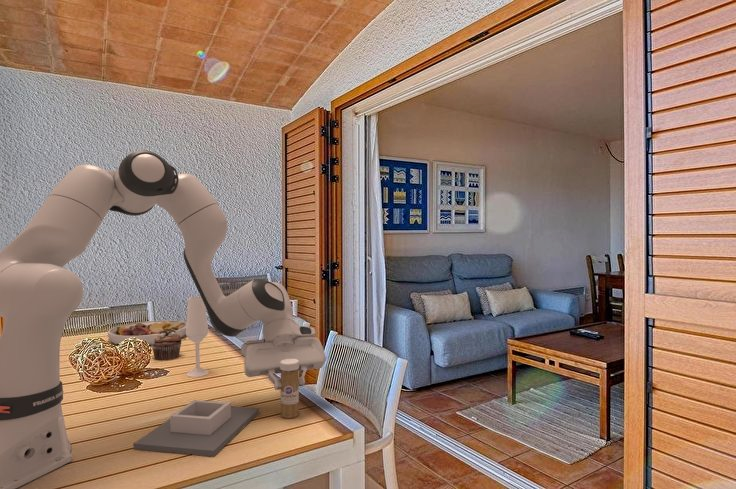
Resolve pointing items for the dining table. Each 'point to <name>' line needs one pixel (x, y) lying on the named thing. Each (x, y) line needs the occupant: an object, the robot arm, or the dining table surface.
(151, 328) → the bowl
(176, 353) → the cupcake
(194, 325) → the champagne flute
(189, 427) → the socket board
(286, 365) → the sprinkles bottle
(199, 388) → the dining table surface
